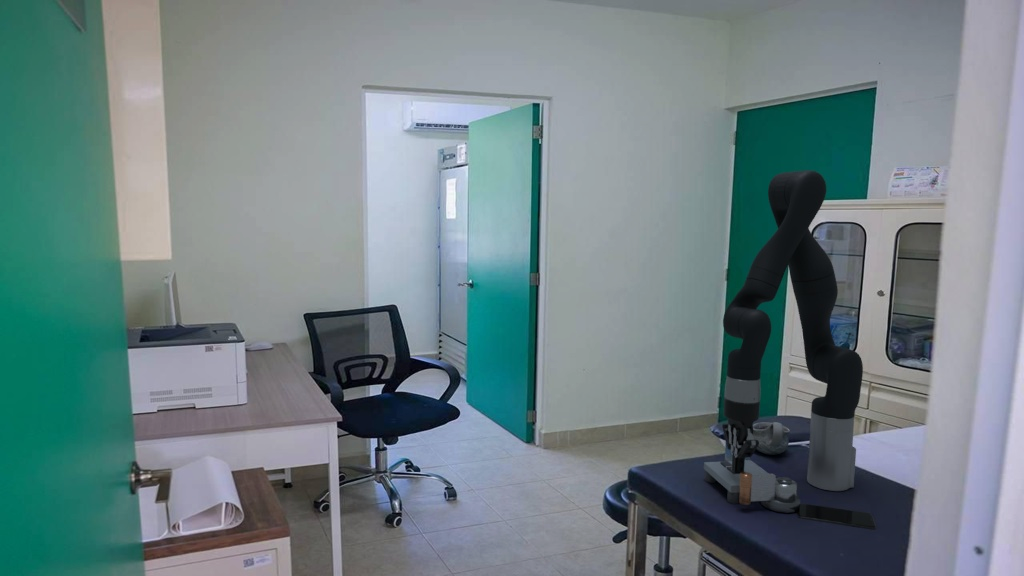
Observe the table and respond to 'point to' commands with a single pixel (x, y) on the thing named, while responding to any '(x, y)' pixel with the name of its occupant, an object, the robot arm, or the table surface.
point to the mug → (771, 437)
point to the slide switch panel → (729, 476)
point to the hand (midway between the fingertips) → (737, 472)
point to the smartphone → (836, 516)
